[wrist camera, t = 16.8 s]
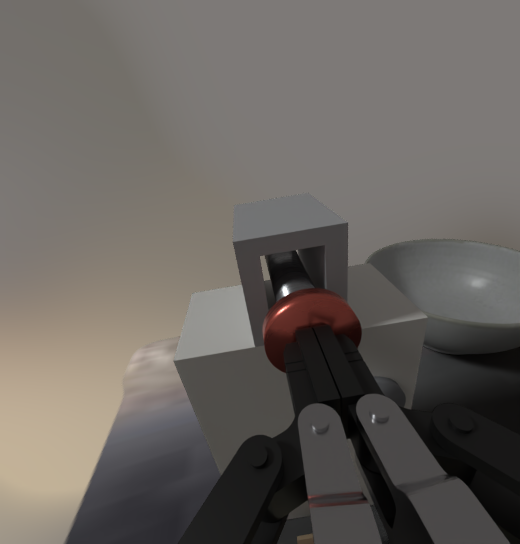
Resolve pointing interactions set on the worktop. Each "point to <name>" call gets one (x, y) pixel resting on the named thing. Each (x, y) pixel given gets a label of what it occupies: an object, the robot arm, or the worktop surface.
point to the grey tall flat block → (253, 309)
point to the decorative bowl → (458, 291)
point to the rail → (305, 539)
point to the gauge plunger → (301, 307)
